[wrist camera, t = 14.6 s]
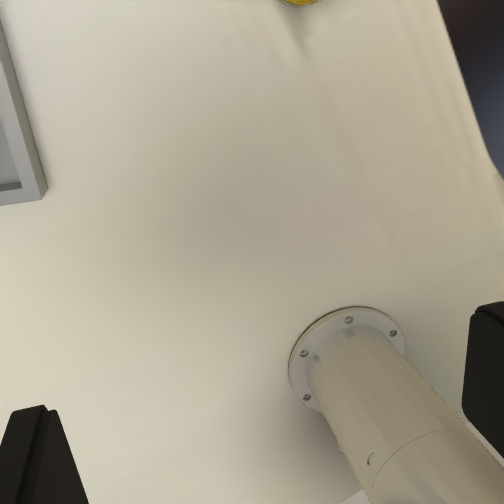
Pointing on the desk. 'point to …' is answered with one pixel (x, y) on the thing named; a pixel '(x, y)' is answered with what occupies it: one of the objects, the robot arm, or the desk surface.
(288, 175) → the desk surface
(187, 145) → the desk surface
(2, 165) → the tray
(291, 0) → the supplement bottle
